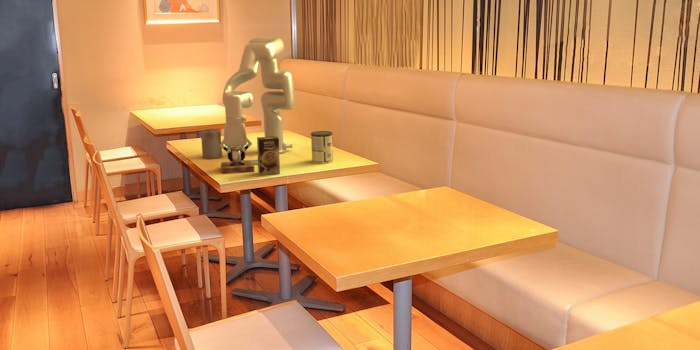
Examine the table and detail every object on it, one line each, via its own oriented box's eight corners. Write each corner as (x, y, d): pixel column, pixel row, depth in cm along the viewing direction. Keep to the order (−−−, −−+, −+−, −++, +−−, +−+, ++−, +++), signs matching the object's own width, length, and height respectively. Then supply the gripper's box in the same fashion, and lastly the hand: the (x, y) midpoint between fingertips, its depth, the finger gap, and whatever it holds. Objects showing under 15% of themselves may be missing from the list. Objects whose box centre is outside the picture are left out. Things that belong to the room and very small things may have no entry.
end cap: (242, 164, 295) (241, 145, 293) (243, 167, 290) (242, 148, 288) (230, 165, 294) (229, 146, 292) (231, 168, 289) (229, 148, 287)
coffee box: (259, 175, 280) (258, 139, 276) (258, 172, 286) (256, 137, 282) (280, 174, 282) (279, 138, 278) (278, 171, 288) (276, 135, 285)
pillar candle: (212, 154, 328) (209, 125, 324) (226, 156, 323) (224, 127, 319) (198, 158, 320) (196, 128, 316) (213, 160, 315) (210, 130, 311)
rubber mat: (259, 160, 312) (259, 159, 312) (261, 164, 303) (261, 163, 303) (238, 161, 310) (238, 160, 310) (240, 165, 300) (240, 164, 300)
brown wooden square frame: (251, 165, 300) (251, 160, 300) (254, 171, 287) (254, 166, 287) (221, 167, 297) (220, 162, 297) (223, 173, 284) (222, 168, 283)
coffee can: (315, 158, 314) (314, 130, 311) (335, 159, 311) (335, 131, 308) (308, 163, 304) (307, 133, 301) (329, 164, 301) (328, 134, 298)
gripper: (252, 119, 293) (254, 157, 297) (214, 120, 289) (217, 160, 293) (254, 121, 286) (256, 160, 290) (215, 123, 282) (218, 163, 286)
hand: (236, 160), depth 291 cm, fingers closed on end cap, 5 cm apart
